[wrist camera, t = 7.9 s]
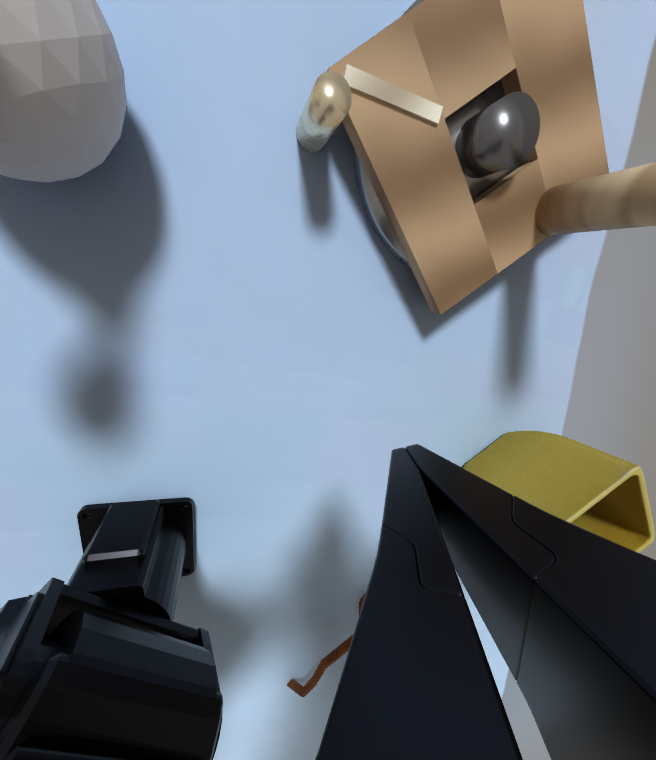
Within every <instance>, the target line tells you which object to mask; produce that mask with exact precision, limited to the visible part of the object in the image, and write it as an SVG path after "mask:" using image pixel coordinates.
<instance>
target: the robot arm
mask: <svg viewBox="0 0 656 760" xmlns="http://www.w3.org/2000/svg"><path fill="white" fill-rule="evenodd" d="M182 505H187V507H183V506H182ZM86 513H90V514H91V515H88V514H86ZM77 518H78V524H79V530H80V536H81V542H82V548H83V556H82V558H81V560H80V561H79V563H78V565H77V567H76V569H75V571H74V573H73V575H72V577H71V578H70V580H69V582H68V584H67V585H65V584H64V581H62V580H59V579H56V578H51V579H50V581H49V582H48V583H47V584H46V585H45V586H44V587H43V588H42V589H41V590H40V591H39V592H37V593H36V594H35V595H34V596H33V595H29V596H28V597H23V598H18V599H13V600H9V601H8V602H7V603H6V604H5V605H4V606H3V607H2V608H1V609H0V760H213V757H214V754H215V751H216V748H217V744H218V740H219V736H220V730H221V723H222V707H223V698H222V694H221V692H220V687H219V682H218V677H217V673H216V666H215V663H214V658H213V653H212V648H211V643H210V638H209V633H208V631H206V630H204V629H201V628H199V629H194V628H191V627H188V626H185V625H182V624H179V623H176V622H173V619H174V613H175V608H176V602H177V597H178V591H179V586H180V580H181V576H188V575H190V574H192V573H193V572H194V567H195V548H194V506H193V500H192V499H190V498H172V499H159V500H146V501H132V502H119V503H105V504H92V505H85V506H83V507H82V508H81V510H80V511H79V513H78V515H77ZM455 570H456V571H457V573H458V575H459V577H460V579H461V581H462V583H463V584H464V586H465V588H466V590H467V592H468V594H469V595H470V597H471V599H472V601H473V603H474V605H475V606H476V608H477V610H478V612H479V614H480V616H481V618H482V619H483V621H484V623H485V625H486V627H487V629H488V630H489V632H490V634H491V636H492V638H493V640H494V642H495V643H496V645H497V647H498V649H499V651H500V653H501V654H502V656H503V658H504V660H505V662H506V664H507V665H508V667H509V669H510V671H511V673H512V675H513V676H514V678H515V680H517V684H518V685H519V688H520V689H521V691H522V693H523V695H524V697H525V699H526V701H527V703H528V706H529V707H530V710H531V711H532V714H533V716H534V719H535V721H536V724H537V726H538V728H539V731H540V733H541V736H542V738H543V741H544V743H545V745H546V748H547V750H548V752H549V755H550V757H551V760H656V560H654V559H651V558H649V557H647V556H644V555H642V554H640V553H638V552H635V551H633V550H631V549H628V548H626V547H624V546H622V545H619V544H617V543H615V542H612V541H610V540H608V539H606V538H603V537H601V536H599V535H597V534H594V533H592V532H590V531H587V530H585V529H583V528H581V527H578V526H576V525H574V524H572V523H569V522H567V521H565V520H563V519H561V518H558V517H556V516H554V515H552V514H550V513H548V512H546V511H544V510H542V509H540V508H538V507H536V506H534V505H532V504H530V503H528V502H526V501H524V500H522V499H521V498H519V497H517V496H513V495H512V494H510V493H508V492H507V491H505V490H503V489H501V488H499V487H497V486H495V485H493V484H492V483H490V482H488V481H486V480H484V479H482V478H480V477H478V476H477V475H475V474H473V473H471V472H469V471H467V470H465V469H464V468H462V467H460V466H458V465H456V464H454V463H452V462H450V461H449V460H447V459H445V458H443V457H441V456H439V455H437V454H435V453H434V452H432V451H430V450H428V449H426V448H424V447H422V446H420V445H418V444H415V445H411V446H407V447H406V448H398V449H394V450H392V454H391V461H390V469H389V476H388V484H387V491H386V499H385V506H384V514H383V521H382V527H381V534H380V540H379V546H378V552H377V556H376V560H375V564H374V568H373V572H372V575H371V579H370V582H369V585H368V589H367V592H366V595H365V599H364V602H363V605H362V608H361V612H360V615H359V618H358V622H357V625H356V628H355V632H354V635H353V638H352V642H351V645H350V648H349V652H348V655H347V658H346V662H345V665H344V668H343V672H342V675H341V678H340V682H339V685H338V688H337V692H336V695H335V698H334V702H333V705H332V708H331V712H330V715H329V718H328V722H327V725H326V728H325V732H324V735H323V738H322V741H321V745H320V748H319V751H318V754H317V756H316V759H315V760H523V759H522V756H521V753H520V750H519V748H518V745H517V742H516V739H515V736H514V734H513V731H512V728H511V725H510V722H509V720H508V717H507V714H506V711H505V708H504V706H503V703H502V700H501V697H500V694H499V692H498V689H497V686H496V683H495V680H494V678H493V675H492V672H491V669H490V666H489V663H488V661H487V658H486V655H485V652H484V649H483V647H482V644H481V641H480V638H479V635H478V633H477V630H476V627H475V624H474V621H473V619H472V616H471V613H470V610H469V607H468V605H467V602H466V599H465V598H464V594H463V591H462V588H461V585H460V582H459V580H458V577H457V574H456V571H455Z"/></svg>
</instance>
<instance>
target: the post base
mask: <svg viewBox="0 0 656 760" xmlns="http://www.w3.org/2000/svg"><path fill="white" fill-rule="evenodd" d="M423 1H424V0H416V1H415V2H414V3H413V4H412V5H411V6H410V8H409V9H408V10H407V11H406V12H405V13H404V14H406V13H407V12H409V11H410V10H411V9H413V8H414V7H416V6H417V5H418V4H420V3H421V2H423ZM404 14H403V15H404ZM403 15H402V16H403ZM351 103H352V94H351V89H350V86H349V84H348V82H347V81H346V79H345V78H344V77H343V76H342V75H341V74H339V73H337V72H335V71H327V72H324V73H322V74H321V75H320V76H319V77H318V79H317V80H316V82H315V84H314V87H313V89H312V91H311V94H310V96H309V98H308V101H307V103H306V105H305V108H304V110H303V112H302V115H301V117H300V119H299V122H298V124H297V128H296V135H297V139H298V141H299V143H300V145H301V146H302V147H303V148H304V149H305V150H307V151H309V152H317V151H319V150H321V149H322V148H323V146H324V145H325V144H326V142H327V141H328V140H329V138H330V137H331V135H332V134H333V133H334V131H335V130H336V129H337V127H338V126H339V125H340V123H341V122H342V121H343V119H344V118H345V116H346V115H347V114H348V112H349V110H350V107H351ZM445 122H446V125H447V127H448V130H449V133H450V136H451V139H452V142H453V145H454V148H455V151H456V154H457V156H458V159H459V162H460V165H461V168H462V171H463V174H464V177H465V180H466V183H467V186H468V188H469V191H470V194H471V197H472V200H474V199H476V198H477V197H479V196H480V195H481V194H483V193H484V192H485V191H487V190H488V189H490V188H491V187H492V186H494V185H495V184H497V183H498V182H499V181H501V180H502V179H503V178H505V177H506V176H508V175H509V174H510V173H512V172H513V171H515V170H516V169H517V168H519V167H520V166H521V165H523V161H525V160H526V159H527V158H528V157H529V155H530V154H531V153H532V151H533V149H534V147H535V145H536V143H537V140H538V136H539V132H540V115H539V110H538V107H537V105H536V103H535V101H534V100H533V99H532V98H531V97H530V96H529V95H528V94H526V93H524V92H518V91H517V92H512V93H509V94H508V95H506V96H505V92H504V88H503V84H502V81H501V79H499V80H498V81H497V82H495V83H494V84H492V85H491V86H490V87H488V88H487V89H485V90H484V91H483V92H481V93H480V94H478V95H477V96H476V97H474V98H473V99H471V100H470V101H469V102H467V103H466V104H464V105H463V106H462V107H460V108H459V109H458V110H456V111H455V112H453V113H452V114H451V115H449V116H448V117H446V118H445ZM354 160H355V170H356V177H357V184H358V187H359V191H360V195H361V199H362V202H363V205H364V208H365V210H366V213H367V216H368V218H369V220H370V222H371V224H372V226H373V228H374V229H375V231H376V233H377V234H378V236H379V237H380V239H381V240H382V242H383V243H384V244H385V246H386V247H387V248H388V249H389V250H390V251H391V252H392V253H393V254H394V255H395V256H396V257H397V258H398V259H400V260H401V261H402V262H403V263H405V264H406V265H408V266H409V267H410V265H409V263H408V261H407V259H406V256H405V254H404V252H403V250H402V248H401V246H400V244H399V242H398V240H397V237H396V235H395V233H394V231H393V229H392V227H391V225H390V223H389V220H388V218H387V216H386V214H385V212H384V210H383V208H382V206H381V203H380V201H379V199H378V197H377V195H376V193H375V191H374V189H373V187H372V184H371V182H370V180H369V178H368V176H367V174H366V172H365V170H364V167H363V165H362V163H361V161H360V159H359V157H358V155H357V153H356V150H355V148H354Z"/></svg>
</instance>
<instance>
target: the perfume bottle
mask: <svg viewBox="0 0 656 760" xmlns="http://www.w3.org/2000/svg"><path fill="white" fill-rule="evenodd" d="M126 108H127V103H126V92H125V81H124V71H123V67H122V64H121V61H120V58H119V54H118V51H117V48H116V45H115V42H114V38H113V35H112V33H111V31H110V29H109V26H108V24H107V22H106V20H105V18H104V16H103V14H102V12H101V10H100V8H99V6H98V4H97V2H96V0H0V175H3V176H6V177H10V178H13V179H19V180H28V181H38V182H47V183H49V182H55V181H61V180H66V179H72V178H78V177H80V176H82V175H83V174H85V173H87V172H88V171H90V170H92V169H94V168H95V167H97V166H99V165H100V164H102V163H103V162H104V160H105V159H106V158H107V156H108V155H109V153H110V152H111V150H112V149H113V147H114V146H115V145H116V143H117V142H118V140H119V139H120V137H121V132H122V127H123V122H124V118H125V113H126Z"/></svg>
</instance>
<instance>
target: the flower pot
mask: <svg viewBox="0 0 656 760" xmlns="http://www.w3.org/2000/svg"><path fill="white" fill-rule="evenodd" d="M463 468H464V469H465V470H467V471H469V472H471V473H473V474H475V475H477V476H478V477H480V478H482V479H484V480H486V481H488V482H490V483H492V484H493V485H495V486H497V487H499V488H501V489H503V490H505V491H507V492H508V493H510V494H512V495H513V496H517V497H519V498H521V499H522V500H524V501H526V502H528V503H530V504H532V505H534V506H536V507H538V508H540V509H542V510H544V511H546V512H548V513H550V514H552V515H554V516H556V517H558V518H561V519H563V520H565V521H567V522H569V523H572V524H574V525H576V526H578V527H581V528H583V529H585V530H587V531H590V532H592V533H594V534H597V535H599V536H601V537H603V538H606V539H608V540H610V541H612V542H615V543H617V544H619V545H622V546H624V547H626V548H628V549H631V550H633V551H635V552H638V553H639V552H640V551H642V550H643V549H644V548H645V547H647V546H648V545H649V544H650V543H652V542H653V541H654V535H655V533H654V524H653V520H652V515H651V509H650V504H649V500H648V495H647V490H646V484H645V479H644V475H643V473H642V470H641V468H640V467H639V466H638V465H635V464H633V463H630V462H628V461H625V460H623V459H620V458H618V457H615V456H612V455H610V454H608V453H605V452H603V451H600V450H598V449H595V448H592V447H590V446H587V445H585V444H582V443H579V442H577V441H574V440H572V439H569V438H566V437H563V436H560V435H556V434H552V433H546V432H539V431H517V432H508V433H505V434H504V435H503V436H501V437H500V438H499V439H497V440H496V441H495V442H494V443H492V444H491V445H490V446H489V447H487V448H486V449H485V450H483V451H482V452H481V453H479V454H478V455H477V456H475V457H474V458H473V459H471V460H470V461H469V462H467V463H466V464H465V465H464V467H463Z"/></svg>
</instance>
